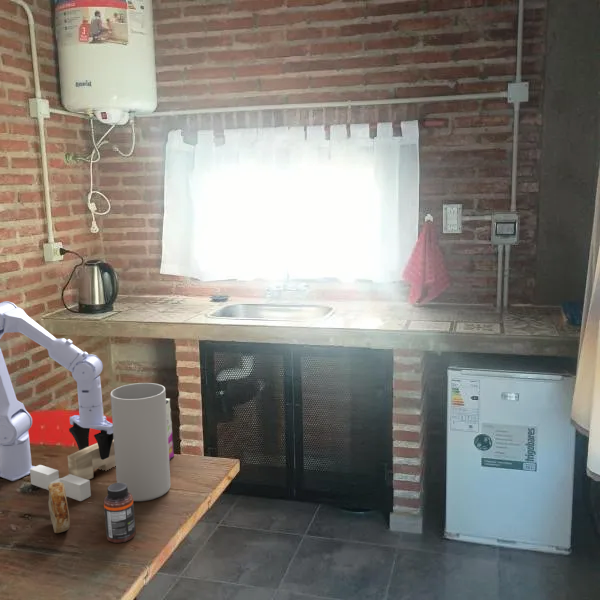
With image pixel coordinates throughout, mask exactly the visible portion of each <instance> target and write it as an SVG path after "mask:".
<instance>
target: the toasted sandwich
mask: <svg viewBox="0 0 600 600" xmlns="http://www.w3.org/2000/svg"><path fill="white" fill-rule="evenodd" d="M47 491H48V510H49V515H50V519H51V520H50V521H51V524H52V527H53V532H54V533H55V534H60V533H64V532H66V531H68V530H69V528H70V524H71V523H70V512H69V505H68V501H67V496H66V492H65V487H64V483H62V482H56V483H52V484H49V485H48V490H47Z"/></svg>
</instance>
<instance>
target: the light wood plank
mask: <svg viewBox="0 0 600 600" xmlns="http://www.w3.org/2000/svg"><path fill="white" fill-rule="evenodd" d="M115 466H116V465H115V451H114V439H113V442H112V445H111V449H110V454H109V457H108V458H106V459H104V460H102V459H101V457H100V452H99V447H98V443H97V442H96V443H94V444H92V445H89V447H87V448H84V449H82V450H80V451H79V450H78V451H75V452H72V453H71V454H69V455H67V467H68V475H69V474H71V475H74V476H78V477H81V478H84V479H87V480H91V479H93V478H94V470H95V469H98V468H99V469H98V470H101V469H102V470H101V471H104V470H105V471H104V472H108V471H110V470H112V469H113V468H112V467H114V468H116V467H115ZM111 468H112V469H111ZM109 469H110V470H109ZM107 470H108V471H107Z"/></svg>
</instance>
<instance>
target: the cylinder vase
mask: <svg viewBox="0 0 600 600" xmlns="http://www.w3.org/2000/svg"><path fill="white" fill-rule="evenodd" d="M166 395H167V393H166V387H165V386H164V385H162V384H159V383H152V382H138V383H130V384H124V385H121V386H118V387H116V388H115V389H112V390H111V392H110V405H111V406H110V407H111V417H112V422H111V423H112V424H113V436H114V451H115V465H116V467H115V474H116V475H115V478H116V483H125V484H127V488H128V492H129V493H131V494H132V496H133V502H147V501H152V500H155V499H158V498H160V497H162V496H164V495H166V493H167V492H168V491H170V488H171V485H172V484H171V469H170V460H169V447H168V429H167V410H166V397H167V396H166Z"/></svg>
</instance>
